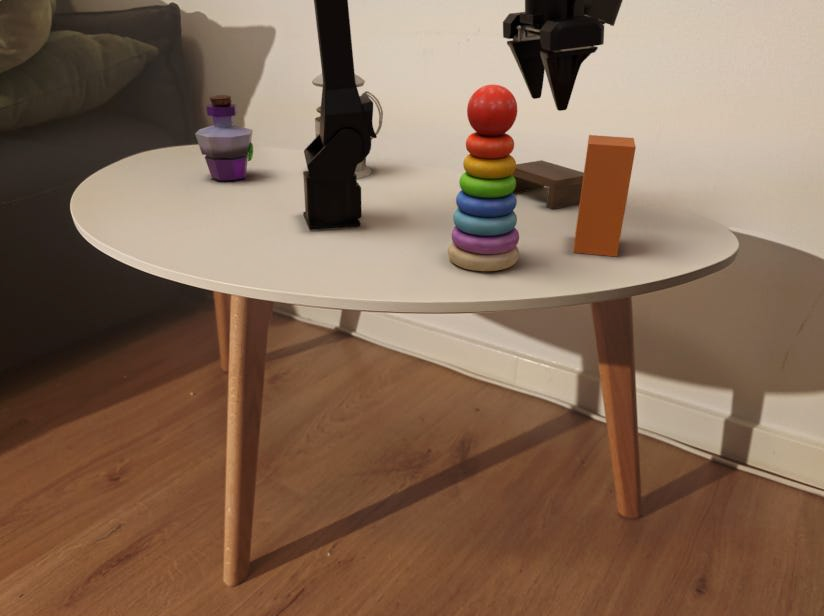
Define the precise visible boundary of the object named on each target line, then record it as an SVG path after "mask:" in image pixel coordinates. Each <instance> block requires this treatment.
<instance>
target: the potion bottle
mask: <svg viewBox="0 0 824 616" xmlns="http://www.w3.org/2000/svg"><path fill="white" fill-rule="evenodd" d="M209 101H210V103H209V104H207V105H206V107H205V108H206V114H207V116H210V117H212V123H213V125H210V126H206V127H202V128H199V129H198V130H197V131H196V132H195V133H194V135H195V138H196V141H197V144H198V146H199V150H200V152H201V155H202V156H204V159H205V163H206V165H207V168H208V171H209V174H210V177H211V179H210V180H212V181H215V182H218V183H236V182H239V181H240V182H241V181H244V180H246V179H247V177H248V175H247V169H248V162H251V161H252V159H253V157H254V144H253V143H252V140H253V139H252V138H253V131H254V130H253V129H250V128H248V127H243V126H239V125H236V124H234V118H233V117H235V116H237V114H238V108H237V107H238V106H237V104H235V103H232V96H231V95H227V94H216V95H213V96H209Z"/></svg>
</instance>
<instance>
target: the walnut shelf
mask: <svg viewBox="0 0 824 616" xmlns="http://www.w3.org/2000/svg"><path fill="white" fill-rule="evenodd" d="M512 175H513V176H514V178H515V180H516V187H515V189H514V191H513V193H514V194H519V193H524V192H529V191H535V190H540V189H541V190H542V189H544V188H545V187H546V188H548V190H547V197H546V198H547V199H546V208H548V209H550V210H555V209H560V208H566V207H570V206H575V205H579V204H580V196H581V189H582V182H583V175H584V171H580V170H577V169H574V168H569V167H567V166H563V165H559V164H555V163H553V162H549V161H545V160H536V161H528V162H522V163H516V169H515V171H514V173H513V174H512Z"/></svg>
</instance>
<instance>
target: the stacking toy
mask: <svg viewBox="0 0 824 616" xmlns="http://www.w3.org/2000/svg"><path fill="white" fill-rule="evenodd" d="M466 109H467V110H466V115H467V120H468V122H469V125H470V127H471V128H472V129H473V131H475V132H473V133H471V134H469V135H468V137H467V138H466V141H465V148H466V150H467V152H468V153H469V154H467V155H466V156H465V157H464V159H463V164H462V165H463V170H464V172H462V174H461V175H460V177H459V182H458V183H459V188H460V189H461V190H460V191H459V192H458V193H457V194H456V198H455V203H456V207H457V208H456V209H455V210H454V212H453V215H452V220H453V225H454V227H453V228H452V230H451V241H452V242H451V243H450V244H449V245H448V247H447V256H448V259H449V260H450V261H451V263H453V264H454V265H456V266H457V267H459V268H462V269H466V270H470V271H476V272H497V271H501V270H506V269H509V268H511V267H513V265H515V264H516V263H517V261H518V259H519V257H520V251H519V248H518V245H519V241H520V233H519V230H518V229H517V228H516V225H517V222H518V217H517V214H516V212H515V211H514V210H515V209H516V207H517V203H518V201H517V197H516V195H515V193H513V191H514V189H515V187H516V180H515V178H514V176H513V175H512V174H513V173H514V171H515V169H516V164H517V162H516V159H515V158H514V157H513V156H512V155H511V154H512V152H513V151H514V150H515V140H514V139H513V137H512V136H511V135H510V134H508V133H507V132H509V130H510V129H512V127H513V125H514V124H515V122H516V119H517V117H518V102H517V100H516V98H515V96H514V94H513V92H511V91H510V90H509V89H508V88H507V87H505V86H503V85H500V84H486V85H483V86H481V87H479V88H478V89H477V90H475V91H474V92H473V93H472V95H471V96H470V98H469V100H468V103H467V107H466Z"/></svg>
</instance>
